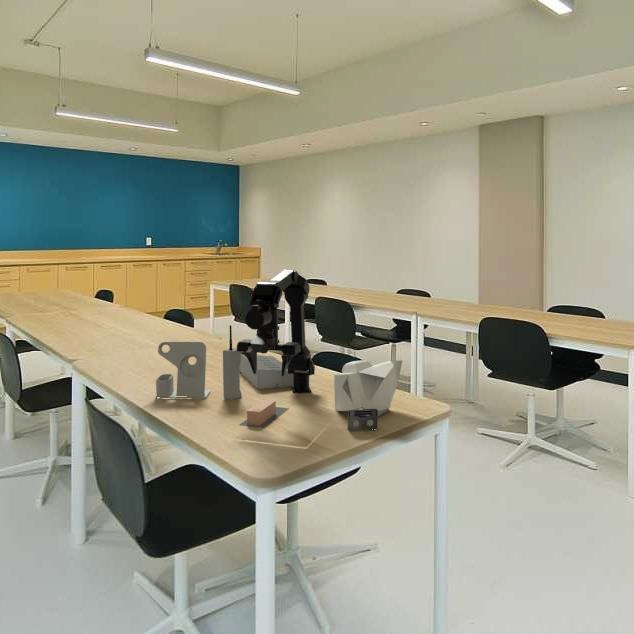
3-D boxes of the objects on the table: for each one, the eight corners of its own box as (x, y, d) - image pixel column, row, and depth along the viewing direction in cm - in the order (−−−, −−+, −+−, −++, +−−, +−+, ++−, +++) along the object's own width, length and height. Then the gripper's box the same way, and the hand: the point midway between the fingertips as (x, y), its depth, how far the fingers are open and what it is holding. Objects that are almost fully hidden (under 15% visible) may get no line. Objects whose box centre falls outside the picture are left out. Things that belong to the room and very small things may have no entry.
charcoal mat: (265, 407, 182) (265, 405, 182) (289, 409, 179) (289, 408, 179) (238, 426, 163) (238, 425, 163) (264, 429, 160) (264, 427, 160)
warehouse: (295, 386, 208) (295, 366, 207) (257, 390, 203) (257, 369, 202) (272, 369, 236) (272, 351, 235) (238, 372, 231) (238, 353, 230)
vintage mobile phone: (241, 397, 192) (241, 324, 189) (231, 401, 188) (230, 326, 185) (233, 396, 194) (232, 323, 191) (223, 399, 190) (222, 325, 187)
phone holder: (153, 399, 190) (152, 346, 187) (161, 391, 200) (159, 341, 197) (206, 399, 190) (205, 346, 188) (210, 391, 200) (209, 341, 198)
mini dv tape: (376, 428, 162) (376, 408, 161) (377, 430, 160) (377, 409, 160) (347, 429, 161) (348, 409, 160) (348, 431, 159) (349, 410, 158)
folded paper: (329, 358, 174) (368, 373, 161) (384, 350, 189) (424, 363, 176) (326, 411, 177) (363, 430, 164) (380, 398, 192) (419, 415, 179)
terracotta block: (263, 399, 174) (246, 410, 163) (275, 400, 173) (259, 412, 162) (263, 412, 175) (247, 424, 164) (275, 413, 174) (259, 425, 162)
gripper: (227, 326, 165) (229, 379, 167) (288, 330, 159) (288, 384, 161) (244, 321, 175) (245, 370, 177) (301, 324, 170) (301, 374, 172)
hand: (268, 374), depth 172 cm, fingers open, 9 cm apart
